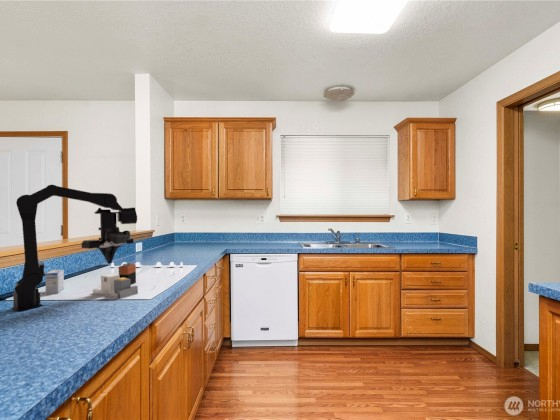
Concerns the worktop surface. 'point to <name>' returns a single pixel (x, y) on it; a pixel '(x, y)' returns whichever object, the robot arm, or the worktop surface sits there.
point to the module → (108, 282)
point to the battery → (128, 272)
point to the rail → (120, 294)
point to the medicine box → (54, 281)
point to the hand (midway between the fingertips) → (109, 263)
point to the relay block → (121, 284)
